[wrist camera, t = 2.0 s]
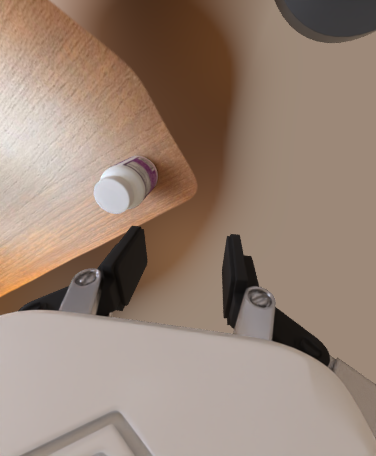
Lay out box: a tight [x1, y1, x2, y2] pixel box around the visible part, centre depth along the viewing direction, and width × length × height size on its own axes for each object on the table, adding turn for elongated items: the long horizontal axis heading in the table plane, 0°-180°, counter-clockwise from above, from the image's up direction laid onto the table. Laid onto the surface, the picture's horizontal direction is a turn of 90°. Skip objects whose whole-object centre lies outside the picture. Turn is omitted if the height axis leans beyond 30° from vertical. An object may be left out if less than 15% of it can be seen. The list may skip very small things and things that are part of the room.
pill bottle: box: [94, 156, 158, 214], centre depth 24 cm, size 5×5×10 cm
